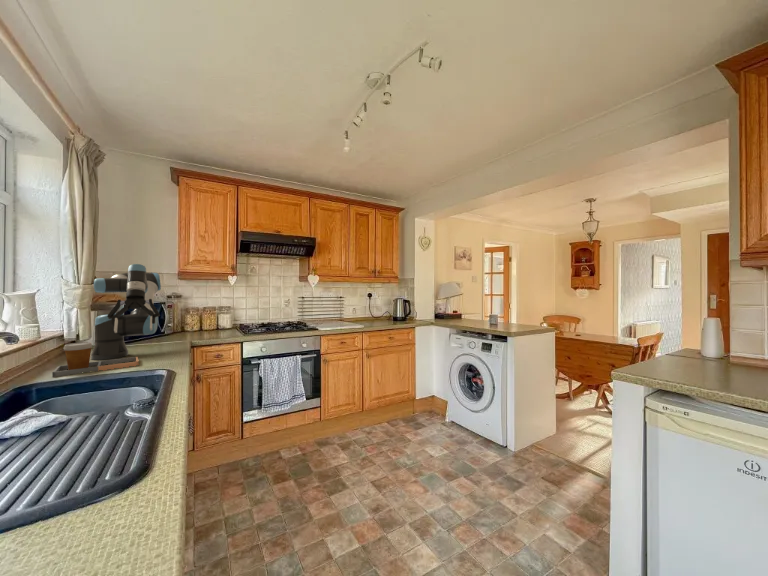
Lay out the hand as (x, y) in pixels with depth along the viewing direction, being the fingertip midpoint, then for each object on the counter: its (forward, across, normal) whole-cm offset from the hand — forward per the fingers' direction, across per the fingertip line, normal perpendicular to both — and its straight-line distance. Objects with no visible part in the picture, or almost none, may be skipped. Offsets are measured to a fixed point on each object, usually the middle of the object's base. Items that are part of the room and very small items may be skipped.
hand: (133, 330), depth 154 cm
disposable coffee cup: (+15, -20, +6) cm, 25 cm away
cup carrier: (+14, -13, +7) cm, 20 cm away
